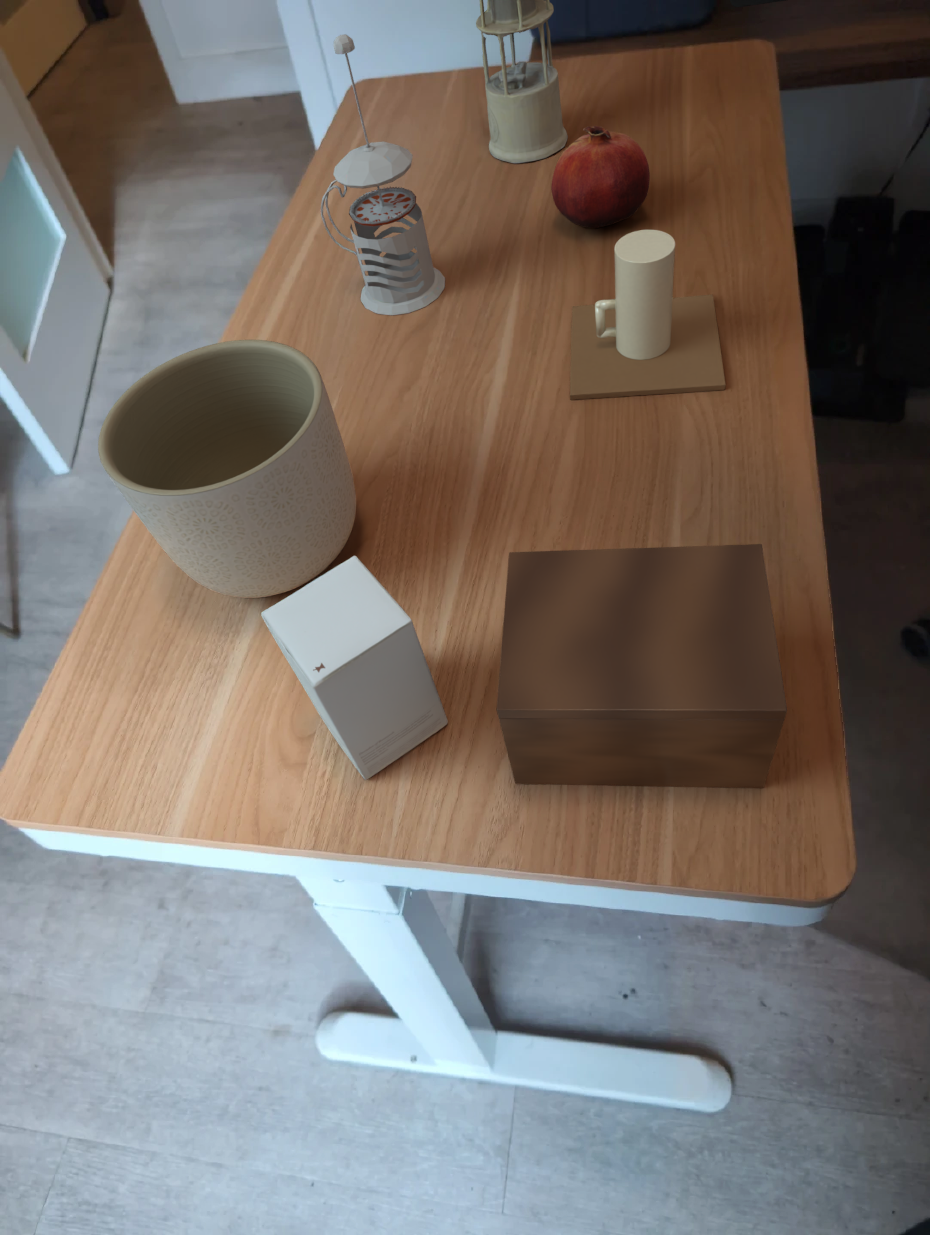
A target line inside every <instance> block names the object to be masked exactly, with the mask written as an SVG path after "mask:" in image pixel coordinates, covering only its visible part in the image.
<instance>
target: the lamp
mask: <svg viewBox="0 0 930 1235" xmlns="http://www.w3.org/2000/svg"><path fill="white" fill-rule="evenodd" d="M486 3H487V4H486V10H485V6H484V5H485V4H484V0H479V10H480V15H479V16H478V17H477V19H476V21H475V27H476V28H477V30H479V31H480V34H481V50H482V65H483V73H484V82H485V85H484V86H485V96H486V104H487V106H486V110H487V119H488V128H489V137H490V139H489V142H488V150H489V153H490V155H491V156H492V157H493V158H494V159H497V160H500V161H502V162H508V163H511V164H522V163H529V162H535V161H539V160H543V159H547V158H548V157H550V156H552V155H553V154H554V155H555V153H557V152H559V151H561V149H563V148H564V147H566V144H567V142H568V138H569V137H568V132H567V130H566V128H565V127H564V124H563V113H562V104H561V91H560V81H559V72H558V70H557V68H555V67H554V65H553V54H552V52H553V51H552V43H551V30H550V26H549V19H550V18H551V17H552V15H553V14H554V12H555V11H554V5H553V3H552V2H550V0H487V2H486ZM544 25H545V27H544ZM537 28H538V34H539V42H540V47H541V48H540V50H541V59H542V62H538V61H536V62H535V61H534V62H526V61H518V62H517V63H516V46H515V34H516V33H519V34H521V33H524V32H528V31H529V30H534V29H537ZM544 28H545V30H544ZM545 31H546V42H545ZM485 35H488V36H494V37H496V38H497V41H498V43H499V55H500V61H501V69H500V70H498V71H497V72H495V73H493V74H492V75H491V76H490V74H489V61H488V60H489V59H488V53H487V52H488V51H487V45H486V44H487V43H486V40H487V37H485ZM507 36H509V43H510V52H511V54H510V55H511V65H510V66H508V67H507V63H506V62H507V61H506V60H507V58H506V57H507V56H506V50H505V41H504V38H505V37H507Z"/></svg>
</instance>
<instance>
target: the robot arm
mask: <svg viewBox="0 0 930 1235" xmlns="http://www.w3.org/2000/svg"><path fill="white" fill-rule="evenodd" d="M785 1H786V2H787V0H729V2H730V4H731V6H733V7H734V8H743V7H750V6H758V5H766V4H770V3H771V4H772V3H780V2H785Z"/></svg>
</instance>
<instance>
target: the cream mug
mask: <svg viewBox="0 0 930 1235" xmlns="http://www.w3.org/2000/svg"><path fill="white" fill-rule="evenodd" d="M613 252H614V253H613V254H614V257H613V258H614V298H610V299H609V298H608V299H599V300H597V301H596V302H595V303H594V304H595V318H596V335H597V337H599V338H606V337H616V348H617V350H618V351H619V353H621V354H622V355H623V356H625V357H628V358H631V359H636V360H645V359H651V358H655V357H657V356H659V355H661V354H663V353H664V352H665V351H666V350H667V349H668V348H669V346H670V343H671V326H672V304H673V298H674V281H675V280H674V279H675V261H676V259H675V258H676V241H675V239H674V237H673V236H672V235H671V234H669V233H668V232H665V231H663V230H659V229H641V230H634V231H632V232H629V233H626V234H624V235H623V236H622V237H620V238H619V239H618V240H617V241H616V243H615V245H614V249H613ZM612 309H615V325H616V327H608V328H605V310H612Z"/></svg>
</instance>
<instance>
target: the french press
mask: <svg viewBox="0 0 930 1235" xmlns="http://www.w3.org/2000/svg"><path fill="white" fill-rule="evenodd" d="M354 42H355V41H354V39H353V38H352V37H351V36H350V35H348V34H347V33H345V34H339V35H338V36H336V37H335V39H334V40H333V44H332V46H333V51H334V53H335V54H336V55H344V56H345V60H346V64H347V69H348V72H349V77H350V80H351V85H352V88H353V89H352V90H353V94H354V98H355V102H356V105H357V111H358V114H359V117H360V122H361V126H362V130H363V134H364V139H365V142H366V144H363V145H361V146H358V147H356V148H354V149H351V150H350V151H349V152H348V153H346V155H344V157H343V158H342V159H341V160H340V161H339V162H338V163H337V164H335V166H334V168H333V174H332V175H333V177H334V178H335V179H334V180H332V181H331V182H330V184H329V185H328V188H327V189H326V191H325V193H324V194H323V196H322V198H321V202H320V203H321V204H320V217H321V220H322V222H323V225H324V229H325V231H326V232H327V234H328V236H329V237H330V238H331V239H332V241H333V242H334V243H335V244H336V245H337V246H339V247H340V248H341V249H342V250H344V251H347V252H350V253H351V254H354V255H355V256H356V258H357V261H358V266H359V268H360V271H361V276H362V278H363V282H364V286H363V288H362V289H361V291H360V292H361V294H360V302H361V303H362V305H363V306H364V308H365V309H366V310H368V311H370V312H373V313H375V314H377V315H386V316H396V315H405V314H410V313H412V312H416V311H419V310H420V309H424V308H426V307H428V306H429V305H430V304H432V303H433V302H434V301H436V300H437V299H438V298H439V297H440V295H441V294H442V293H443V291H444V289H445V288H446V286H445V285H446V277H445V276H444V275H443V273H442V272H441V270H439V269H438V268H436V267H434V264H433V259H432V254H431V251H430V250H431V249H430V245H429V240H428V236H427V231H426V226H425V221H424V217H423V212H422V209H421V207H420V206H419V204H418V203H417V196H416V195H415V193H414V192H413V191H412V190H411V189H407V188H405V187H402V186H398V187H397V186H389V187H388V186H386V187H383V188H382V187H381V186H384V185H387V184H391V183H393V182H395V181H396V180H398V179H400V178H401V177H403V176H405V175H406V173H407V172H408V171H409V170H410V169H411V167H412V162H413V156H414V155H413V154H412V153H411V151H410V150H409V148H406V147H404V146H401V145H399V144H396V143H391V142H388V141H373V142H369V139H368V135H367V130H366V126H365V122H364V118H363V114H362V108H361V104H360V101H359V97H358V96H359V95H358V93H357V89H356V85H355V80H354V77H353V72H352V68H351V63H350V59H349V55H348V54H349V53H351V52H353V51H354V50H355V49H356V47H355V43H354ZM336 183H338V184H340V185H342V186H343V188H344V190H343V191H342V188H341V187H340V186H339V185H335V184H336ZM348 188H349V189H370V188H376V189H374V190H371V191H368V192H365V193H363V194H362V195H360V196H358V198H356V199H355V200H354V201H352V203H351V205H350V206H349V209H348V215H349V217H350V218H351V220H352V221H353V224H354V227H355V231H356V234H355V232H354V229H353V228H354V227H353V224H352V223H350V225H349V230H350V234H351V237H352V239H351V238H349V237H348V236H346V235H345V234H344V233H342V232H341V231H340V229H339V228H338V226H336V223H335V222H334V220H333V218H332V215H331V212H330V207H329V194H330V192H331V191H332V190H334V189H337V191H338V193H339V196H340V197H341V198H345V197H346V194H347V191H348ZM324 206H325V209H326V213H327V217H328V219H329V221H330V223H331V225H332V226H333V228H334V229H335V231H336V232H337V233H338V235H339V236H341V237H342V238H343V239H344V240H346V241H347V242H350V243H352V244H354V248H355V250H356V251H354V250H352V249H350V248H348V247H346V246H345V245H343V244H342V243H340V242H338V241H337V239H336V238H335V237H334V236H333V234H332V233H331V231H330V229H329V228H328V225H327V222H326V218H325V216H324ZM406 216H408V217H409V218H411V219H413V220H414V221H415V223H413V222H411V221H409V220H408V219H406V218H405V217H406ZM393 223H401V224H404V225H406V226H407V227H409V228H408V229H407V228H405V227H403V226H390V227H387V228H386V229H384V230H382V231H380V233H378V234H377V235H376V236H375V233H376V232H377V231H378V230H379V229H380V227H382V226H386V225H391V224H393ZM391 234H396V235H393V236H389V235H391ZM387 236H388V237H387ZM413 250H416V252H414V251H413ZM360 251H361V252H360ZM382 253H385V254H384V255H383V256H381V254H382ZM363 262H364V264H363ZM366 272H367V274H366Z"/></svg>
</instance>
